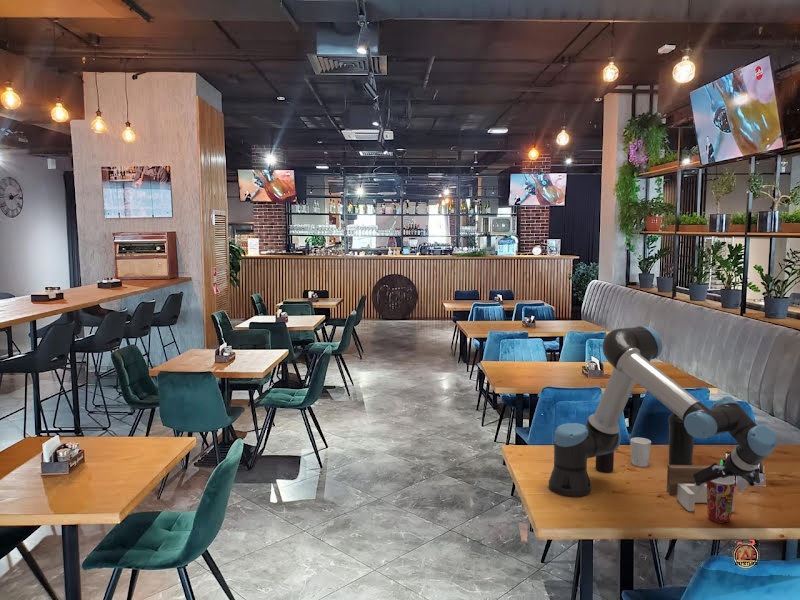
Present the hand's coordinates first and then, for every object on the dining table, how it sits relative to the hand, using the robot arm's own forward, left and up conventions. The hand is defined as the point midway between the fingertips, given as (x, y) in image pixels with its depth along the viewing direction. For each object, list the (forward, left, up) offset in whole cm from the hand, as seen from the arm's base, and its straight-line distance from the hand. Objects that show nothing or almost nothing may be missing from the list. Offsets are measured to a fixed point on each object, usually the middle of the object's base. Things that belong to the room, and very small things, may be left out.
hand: (717, 488), depth 200 cm
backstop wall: (+6, +18, -10) cm, 21 cm away
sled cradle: (+3, +8, -10) cm, 13 cm away
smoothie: (-1, -2, -10) cm, 10 cm away
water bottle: (+23, +41, -10) cm, 48 cm away
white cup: (+9, +48, -10) cm, 50 cm away
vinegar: (-9, +47, -10) cm, 49 cm away
